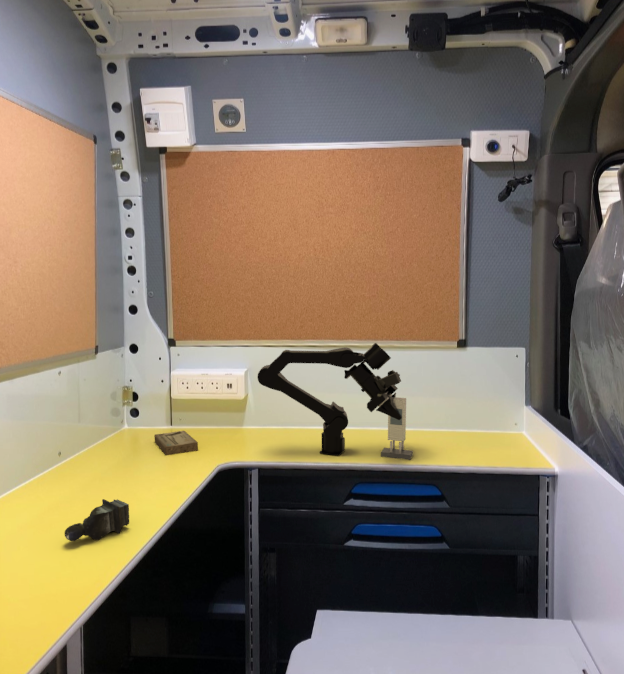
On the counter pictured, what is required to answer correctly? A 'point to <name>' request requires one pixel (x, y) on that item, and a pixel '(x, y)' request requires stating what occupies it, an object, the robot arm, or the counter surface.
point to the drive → (397, 421)
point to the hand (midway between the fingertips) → (401, 418)
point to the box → (176, 442)
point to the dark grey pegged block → (397, 452)
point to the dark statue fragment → (101, 521)
